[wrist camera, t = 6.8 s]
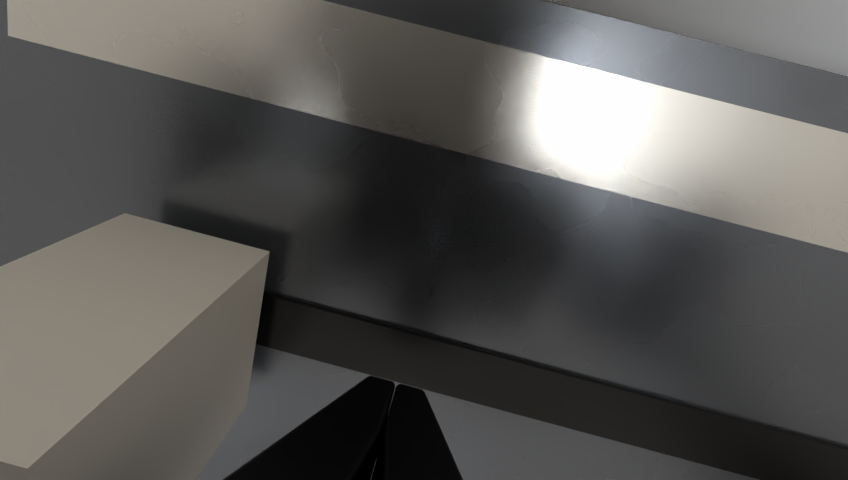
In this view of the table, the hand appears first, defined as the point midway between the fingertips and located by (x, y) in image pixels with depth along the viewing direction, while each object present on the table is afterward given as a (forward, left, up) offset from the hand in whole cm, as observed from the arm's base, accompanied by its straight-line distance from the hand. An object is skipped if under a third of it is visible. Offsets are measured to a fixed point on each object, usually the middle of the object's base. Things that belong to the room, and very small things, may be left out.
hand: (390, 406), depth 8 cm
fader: (+4, 0, -1) cm, 4 cm away
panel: (-1, +4, -4) cm, 5 cm away
